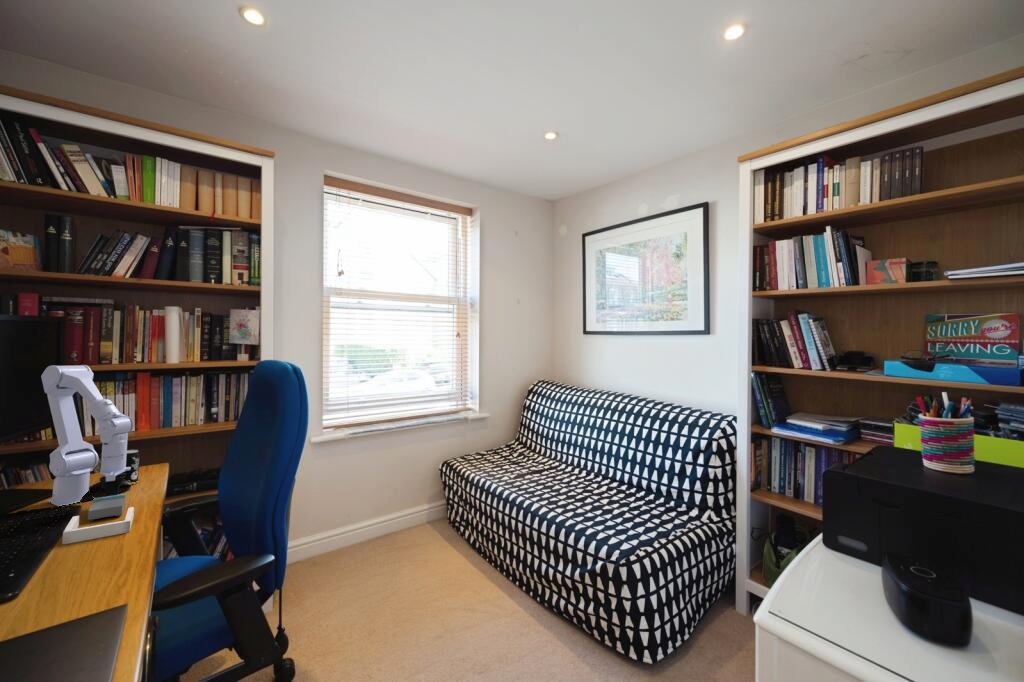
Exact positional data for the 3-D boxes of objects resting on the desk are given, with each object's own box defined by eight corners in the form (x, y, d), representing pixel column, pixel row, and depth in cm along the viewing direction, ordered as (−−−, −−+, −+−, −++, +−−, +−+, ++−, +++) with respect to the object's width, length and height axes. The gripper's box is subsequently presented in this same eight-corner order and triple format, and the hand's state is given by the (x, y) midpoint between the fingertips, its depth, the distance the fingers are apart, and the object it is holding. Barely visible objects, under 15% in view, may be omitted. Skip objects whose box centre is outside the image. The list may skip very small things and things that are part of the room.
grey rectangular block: (93, 511, 123) (93, 498, 123) (124, 507, 128) (125, 493, 128) (87, 522, 116) (88, 508, 116) (121, 517, 120) (122, 503, 120)
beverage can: (125, 487, 145) (127, 453, 146) (107, 487, 146) (109, 453, 146) (142, 482, 152) (144, 449, 152) (125, 481, 152) (127, 449, 153)
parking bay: (72, 527, 112) (72, 516, 112) (133, 517, 120) (134, 506, 120) (62, 544, 103) (63, 532, 103) (129, 532, 110) (130, 520, 110)
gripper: (129, 458, 127) (126, 502, 126) (133, 449, 138) (130, 490, 137) (97, 461, 122) (94, 507, 122) (103, 452, 134) (101, 494, 133)
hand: (111, 498), depth 129 cm, fingers closed
